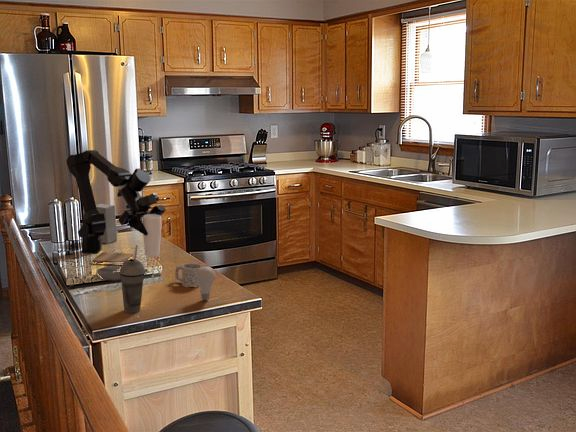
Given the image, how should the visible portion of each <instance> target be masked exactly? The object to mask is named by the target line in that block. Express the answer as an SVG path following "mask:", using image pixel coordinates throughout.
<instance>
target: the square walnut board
mask: <svg viewBox="0 0 576 432" xmlns="http://www.w3.org/2000/svg"><path fill="white" fill-rule="evenodd" d="M132 256H133V257H134V253H125V252H124V253H123V252H106V251H105V252H104V251H101V252H100V253H98V255H97V256H96V257H94V258H93V259H92V262H94V263H95V262H97V263H103V262H126V261H127V260H128V259H129V258H130V257H132Z"/></svg>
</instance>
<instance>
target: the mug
mask: <svg viewBox="0 0 576 432" xmlns="http://www.w3.org/2000/svg"><path fill="white" fill-rule="evenodd" d="M202 267H203V265H201V264H199V263H185V264H183V265H178V266H176V267H175V271H174V272H175V273H174V275H175V279H176V280H178V281H180V282H181V286H182V285H183V286H182V287H184V286H186V287H185V288H187V287H195V286H199V284H198V282H197V280H196V273H197V271H198V270H199V269H200V268H202ZM181 270H182V271H181ZM179 271H181V274H182V275H181V277H180V276H179Z"/></svg>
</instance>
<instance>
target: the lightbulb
mask: <svg viewBox="0 0 576 432" xmlns="http://www.w3.org/2000/svg"><path fill="white" fill-rule="evenodd" d="M216 278H217V277H216V272H215V271H214V268H212V267H211V266H202V268H200V269H199V270H198V271H197V273H196V280H197V282H198V284H199V286H200V287H199V289H200V296H201V297H200V298H201V300H203V301H204V300H206V301H207V300H209V299H210V293H211V292H212V291H211V289H212V286H213V284H214V283H215V281H216Z"/></svg>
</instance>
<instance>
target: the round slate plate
mask: <svg viewBox="0 0 576 432" xmlns="http://www.w3.org/2000/svg"><path fill="white" fill-rule="evenodd" d="M120 267H121V266H120V265H107V266H104V267H100V268H98V269H97V270H96V274H97V273H98V274H99V275H100V276H101V277H102V278H103V279H102V280H103V281H113V282H114V281H115V282H117V281H121V278H120V272H114V273H113V271H117V269H119V268H120Z"/></svg>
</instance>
